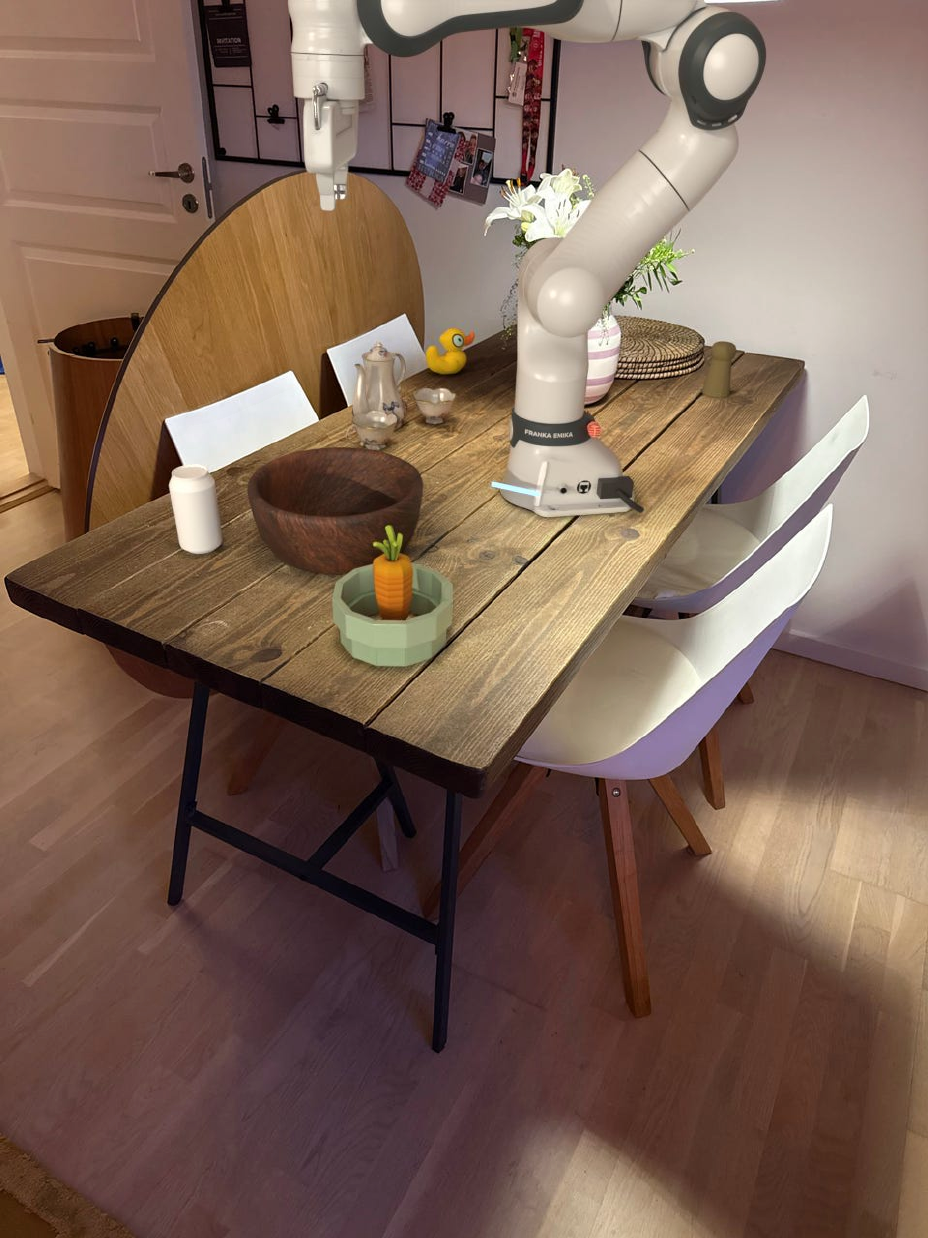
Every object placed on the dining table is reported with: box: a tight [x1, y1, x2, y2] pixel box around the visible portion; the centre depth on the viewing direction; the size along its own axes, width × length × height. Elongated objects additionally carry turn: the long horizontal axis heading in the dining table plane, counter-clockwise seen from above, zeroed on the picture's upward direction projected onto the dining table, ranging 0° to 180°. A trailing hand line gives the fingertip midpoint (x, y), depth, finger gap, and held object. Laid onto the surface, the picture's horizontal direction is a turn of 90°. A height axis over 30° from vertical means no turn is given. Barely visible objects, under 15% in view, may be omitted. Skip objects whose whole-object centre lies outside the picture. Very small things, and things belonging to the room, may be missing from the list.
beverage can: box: [168, 464, 224, 555], centre depth 125 cm, size 6×6×12 cm
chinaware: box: [345, 340, 458, 451], centre depth 165 cm, size 28×17×17 cm, turn 148°
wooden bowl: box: [246, 446, 424, 576], centre depth 127 cm, size 25×25×10 cm
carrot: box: [373, 525, 413, 620], centre depth 106 cm, size 5×5×15 cm
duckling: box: [425, 327, 476, 375], centre depth 195 cm, size 11×5×10 cm, turn 111°
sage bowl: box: [331, 561, 454, 667], centre depth 109 cm, size 15×15×7 cm
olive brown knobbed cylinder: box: [701, 340, 737, 398], centre depth 189 cm, size 6×6×11 cm
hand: (334, 203), depth 116 cm, fingers open, 8 cm apart
